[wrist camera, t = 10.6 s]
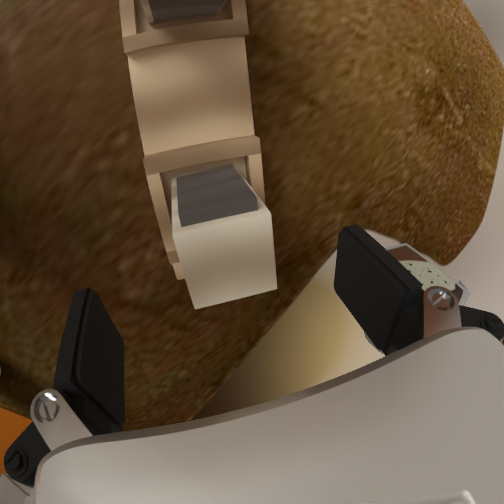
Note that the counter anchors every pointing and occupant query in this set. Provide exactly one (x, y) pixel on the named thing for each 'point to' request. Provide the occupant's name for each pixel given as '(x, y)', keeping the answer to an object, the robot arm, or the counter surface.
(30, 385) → the counter surface
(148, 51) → the rail
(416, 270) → the food container
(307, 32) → the counter surface
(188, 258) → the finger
